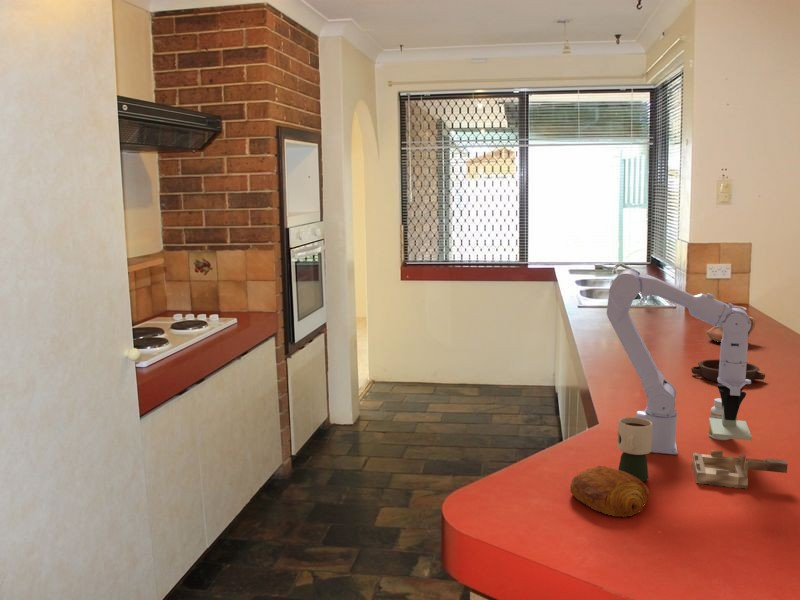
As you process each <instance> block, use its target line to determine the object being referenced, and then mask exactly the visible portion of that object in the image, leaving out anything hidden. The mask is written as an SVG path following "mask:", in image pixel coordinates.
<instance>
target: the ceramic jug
mask: <svg viewBox="0 0 800 600" xmlns="http://www.w3.org/2000/svg"><path fill="white" fill-rule="evenodd" d="M733 307H740V308H741V309H742V310H744V311H745V312H746V313H747V310H748V309H747V307H744V306H739V305H733ZM748 317H749V319H750V324H751V328H750V330H749V332H748V338H749V337H750V334H751V333H752V332H753V331H754V329H755V327H756V326H755V325H756V320H755V318H754V317H753V316H749V315H748ZM706 335H707V337H708V338H709V339H710V340H711V341H713V340H714V342H716V341H718V342H717V343H719V342H721V340H722V337H723V327H716V326H713V327H711V328H709V329H708V330H707V331H706Z"/></svg>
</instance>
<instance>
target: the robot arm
mask: <svg viewBox="0 0 800 600" xmlns="http://www.w3.org/2000/svg"><path fill="white" fill-rule="evenodd" d="M612 281H613V282H612V283H611V284H610V287H609V289H608V299H607V307H606V316H607V318H608V321H609V322H610V324H611V326H612V328H613V329H614V330H613V331H615V334H616V336H617V338H618V340H619V341H620V343H621V345H622V347H623V349H624V351H625V353H626V354H627V356H628V358H629V360H630V362H631V364H632V365H633V368H634V370H635V371H636V373H637V376H638V378H639V379H640V382H641V385H642V388H643V391H644V393H645V397H646V407H645V409H644V410H636V416H635V417H638V418H643V419H647V420H650V421H651V422H652V423H653V429H652V448H651V452H650V453H655V454H665V455H666V454H667V455H678V448H677V447H678V446H677V443H676V438H677V437H676V435H677V419H678V418H677V417H678V411H677V410H676V409H675V407H676V398H677V391H676V389H675V386H673V384H672V383H670V382H669V381H668V380H666V378H665V376H664V375H663V373H662V372H661V371H660V369H659V368H658V366H657V364H656V362H655V360H654V358H653V357H652V354H651V353H650V351H649V348H648V346H647V345H646V343H645V341H644V338H642V335H641V334H640V332H639V330H638V328H637V326H636V324H635V322H634V320H633V318H632V316H631V314H630V308H631V306H632V304H633V302H634V300H635V299H636V297H637V296H638V295H639V293H641V298H643V297H649V296H656V297H659V298H662V299H664V300H667V301H668V302H669V301H670V302H672V303H675V304H676V305H680V306H681V307H685V308H687V310H688V313H689V315H690V316H691V317H693V318H695V319H698V320H700V321H703V322H704V323H707V324H709V325H712V326H713V327H714V326H716V327H723V337H722V340H721V343H720V349H719V351H720V352H719V359H720V363H719V377H718V379H717V381H718V382H717V383H718V384H716V387H717V389H718V392H719V394H720V398H721V401H722V409H723V407H724V416H725V420H735V419H736V417H737V418H738V416H737V415H738V413H739V410H740V406H741V404H742V402H743V400H745V398H746V396H747V393H746V392H745V391H744V386H745V385H751V384H752V381H751V380H749V379H745V378H746V365H747V363H748V350H749V349H748V348H749V341H748V339H749V337H748V332H749V330H750V328H751V320H750V319H749V317H748V316H749V315H748V313H747V311H746V312H745V311H744V310H742V309H741V308H740V307H741V306H740V307H733V306H734V304H733V303H731V302H728V303H725V302H723V301H721V300H720V299H719V300H718V299H716V298H714V295H713V294H711V293H710V292H708V293H707V294H705V293H699V294H694V295H693V294H691V293H690V292H688V291H685V290H683V289H680V288H679V287H676V286H674V285H672V284H670V283H668V282H666V281H664V280H662V279H660V278H657V277H654V276H652V275H650V274H647V273H643V272H640V273H639V272H638V271H637V270H635V269H631V268H628V269H624V270H621V271H620V272H619V273H618V274H617V276H616V277H615V278H614V279H613V280H612Z"/></svg>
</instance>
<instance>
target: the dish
mask: <svg viewBox="0 0 800 600" xmlns="http://www.w3.org/2000/svg"><path fill="white" fill-rule="evenodd" d="M719 363H720V358H719V359H717V358H716V359H703V360H701V361H699V362H698V363H697V364H698V366H692V367H691V368H690V369H691V374H693V375H697V376H701V377H703V378H705V379H706V380H708V381H710V380H711V381H710V382H714V381H715V383H719V382H718V381H717V379H718V377H719ZM759 371H760V368H759V367H758V366H757V365H755V364H752V363H749V362H747V365H746V378H745V379H749V380H751V382H752V381H755V380H759V381H760V380H761V381H763V380H765V377H766V374H765V373H763V372H759Z"/></svg>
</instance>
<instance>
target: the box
mask: <svg viewBox="0 0 800 600" xmlns="http://www.w3.org/2000/svg"><path fill="white" fill-rule="evenodd" d="M723 455H724V452H723V451H722V450H719V451H718V450H710V454H706V453H705V454H704V453H699V452H693V453H692V461H691V462H692V464H691V465H692V469H693V474H695V475H694V479H696V480H695V484H696V483H699V484H698V485H704V484H709V485H708V486H713V485H717V486H716V487H723V486H725V488H732V487H734V488H733V489H741V488H745V489H744V490H748V486H749V476H748V474H749V473H748V471H749V469H748V462H747V461H746V458H747V457H746V454H741V455H738V457H737V456H736V457H735V456H727V455H726V456H725V455H724V456H723Z"/></svg>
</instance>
